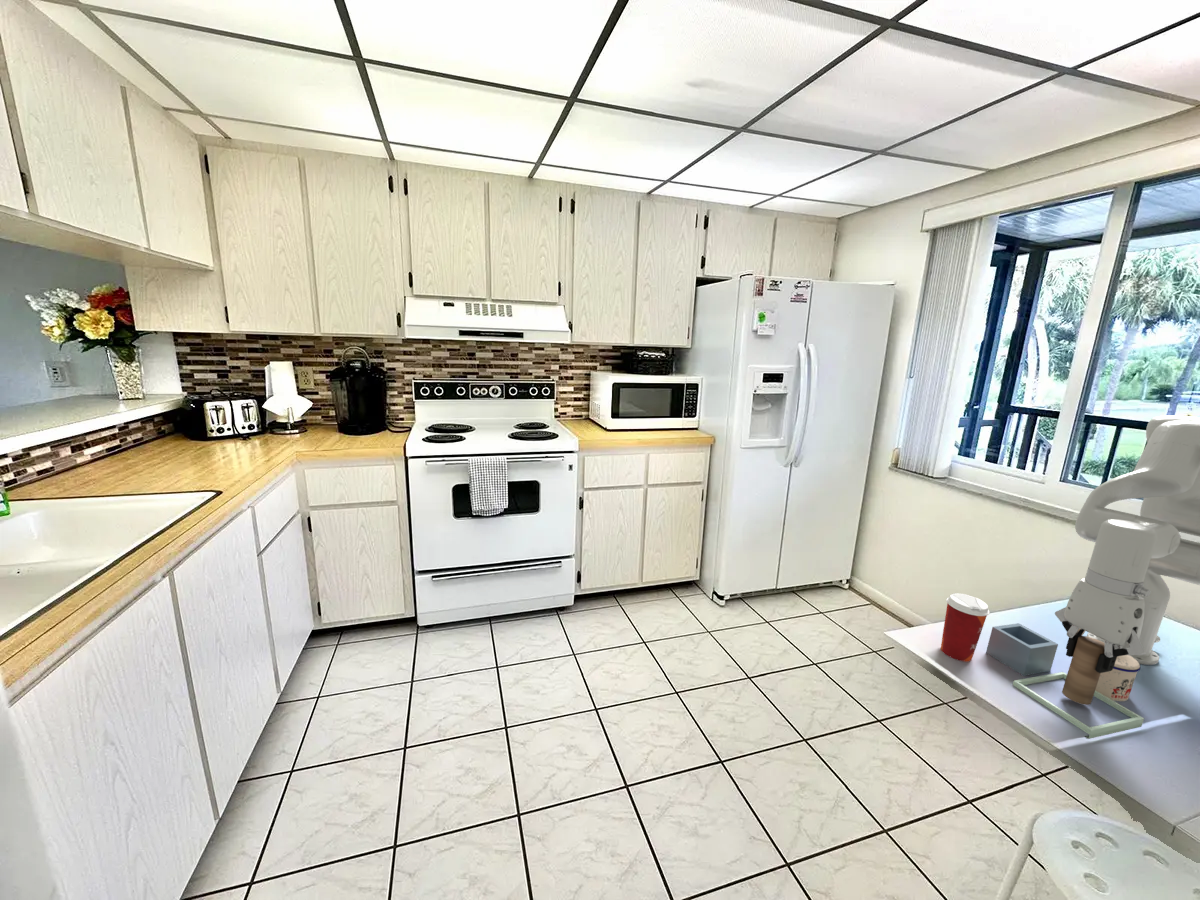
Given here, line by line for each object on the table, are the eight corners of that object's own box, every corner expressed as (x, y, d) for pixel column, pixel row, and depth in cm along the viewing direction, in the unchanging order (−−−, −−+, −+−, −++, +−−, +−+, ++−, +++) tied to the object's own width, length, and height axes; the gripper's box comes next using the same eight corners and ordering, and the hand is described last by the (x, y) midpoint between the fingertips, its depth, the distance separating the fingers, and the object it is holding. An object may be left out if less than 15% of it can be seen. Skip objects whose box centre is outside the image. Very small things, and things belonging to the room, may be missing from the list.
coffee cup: (984, 670, 111) (999, 612, 108) (944, 664, 112) (958, 607, 109) (964, 648, 119) (978, 594, 116) (928, 643, 120) (940, 589, 117)
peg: (1071, 688, 103) (1087, 634, 100) (1096, 703, 99) (1114, 647, 96) (1056, 691, 102) (1072, 637, 99) (1081, 706, 98) (1099, 650, 95)
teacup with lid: (1120, 711, 100) (1136, 662, 97) (1063, 683, 108) (1077, 638, 105) (1139, 693, 106) (1155, 647, 103) (1084, 668, 113) (1098, 625, 111)
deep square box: (1010, 652, 119) (1018, 623, 117) (1049, 674, 111) (1058, 644, 109) (985, 656, 116) (992, 626, 115) (1022, 679, 109) (1030, 648, 107)
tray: (1060, 679, 109) (1063, 671, 109) (1141, 726, 96) (1144, 718, 96) (1011, 688, 105) (1013, 680, 105) (1088, 738, 92) (1091, 730, 92)
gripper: (1184, 603, 87) (1154, 689, 91) (1075, 561, 103) (1053, 636, 107) (1157, 607, 85) (1127, 694, 89) (1050, 564, 101) (1028, 640, 105)
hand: (1087, 662), depth 98 cm, fingers closed on peg, 4 cm apart
